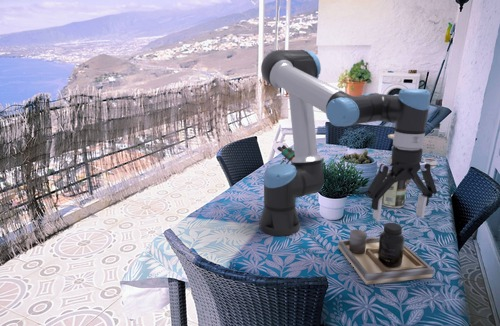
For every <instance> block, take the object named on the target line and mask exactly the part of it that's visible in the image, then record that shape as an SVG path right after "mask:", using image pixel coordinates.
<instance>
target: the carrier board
mask: <svg viewBox="0 0 500 326" xmlns="http://www.w3.org/2000/svg"><path fill="white" fill-rule="evenodd" d="M379 239H380V236H370V237H367V232H366V231H365V230H362V229H353V230H350V233H349V239H338V244H337V245H338V246H337V247H338V250H340V253H342V255H343V256H344V257H345V259H346V260H347V261H348V263H349V264H350V263H351V264H350V265H351V266H352V268H353V267H354V268H353V269H354V271H355V272H356V273H357V274H358V276H359V278H360V279H361V280H362V282H364V284H365V285H375V284H377V285H378V284H386V283H393V282H394V283H395V282H404V281H413V280H422V279H423V280H424V279H431V278H433V277H434V269H435V268H433V267H432V266H431V265H429V263H427V262H426V261H425V260H424V259H423V258H421V257H420V256H419V254H417V253H416V252H414V251H413V249H411V248H410V247H409V246H408V245H407V244H405V243H404V250H403V258H402V264H401V265H400V266H399V267H396V268H391V267H386V266H384V265H383V264H382V263H381V262H380V260H379V259H378V250H379Z"/></svg>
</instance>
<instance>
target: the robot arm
mask: <svg viewBox="0 0 500 326" xmlns="http://www.w3.org/2000/svg"><path fill="white" fill-rule="evenodd" d="M321 66H322V65H321V62H320V59H319V58H318V56H317V55H316V53H314V52H313V51H311V50H305V49H277V50H272V51H271V52H269V53H268V54H266V55H265V56H264V58H263V59H262V62H261V65H260V72H261V76H262V78H263V79H264V80H265V82H266V83H267V84H269V85H270V86H272V87H274V88H276V89H283V90H284V91H285V92H286V93H288V98H289V101H288V102H289V109H290V121H291V129H292V130H291V131H292V132H291V133H292V139H293V140H292V141H293V151H294V152H295V157H294V158H293V159H292V161H290V163H288V164H286V163H282V164H280V163H279V164H274V165H271V166H269V167H267V169H266V170H265V171H264V174H263V210H262V212H261V216H260V219H259V228H260V230H261V231H262V232H263V233H265V234H268V235H271V236H276V237H277V236H278V237H284V236H292V235H294V234H296V233H297V232H298V231H299V230H300V227H301V226H300V224H301V223H300V218H299V216H298V215H299V214H298V212H297V209H296V202H297V201H296V199H298V198H301V197H304V196H308V195H312V194H316V193H319V192H321V191H322V190H321V189H322V188H323V186H324V174H323V172H324V171H323V167H322V162H323V158H322V157H321V156H320V155H319V154H318V145H317V137H316V135H317V133H316V124H315V114H314V111H315V110H314V108H316V109H317V110H319V111H321V112H323V113H324V114H325V115H326V119H327V120H328V121H329V124H331V125H332V126H335V127H350V126H355V125H360V124H366V123H367V124H368V123H373V122H387V123H392V124H395V125H394V133H393V134H394V140H393V139H392V145H393V146H394V145H395V146H394V147H393V146H392V147H393V149H392V148H391V149H392V150H391V156H392V157H391V156H390V157H391V158H392V163H391V165H390V164H384V163H381V164H379V169H378V171H377V174H376V175H375V177H374V178H373V181H372V182H371V184H370V185H369V187H368V189H367V191H366V192H365V195H367V197H369V198H370V199H371V208H372V209H373V213H372V218H373V219H374V220H375V221H376V222H381V214H382V206H383V205H382V200H381V199H380V198H381V197H382V196H383V195H384V194H385V193H386V192H387V190H388V189H389V188H390V187H391V186H392V185H393V184H394V183H396V182H397V181H398V180H400V181H401V180H409V181H411V180H412V181H413V183H414V184H415V186H416V187H417V188H418V190H419V191H420V192H421V193H419V194H418V197H417V203H416V204H417V205H416V210H415V215H417V216H418V217H419V218H420V219H425V213H426V208H427V207H428V205H429V200H430V198H433V196H434V195H436V194H438V190H437V187H436V185H435V181H434V178H433V176H432V173H431V170H430V164H428V163H426V162H423V161H422V159H423V153H424V150H423V149H422V148H423V147H424V144H425V139H426V138H425V137H426V129H427V122H428V116H429V112H430V108H431V106H430V101H431V93H430V91H429V90H428V89H423V88H403V89H400V90H399V93H398V95H391V94H382V93H378V92H377V93H376V92H370V93H369V92H368V93H364V94H363V95H357V96H355V95H352V94H349V93H347V92H344V91H343V90H341V89H339V88H337V87H335V86H333V85H331V84H330V83H327V82H325V81H323V80H321V79H319V77H320V75H321V72H322V71H321V68H322V67H321ZM291 162H292V163H291ZM291 164H292V165H291ZM325 165H326V166H327V164H326V163H325ZM327 168H328V167H326V169H327ZM390 170H391V172H390V173H389V171H390ZM419 171H420V172H421V174H422V178H423V180H424V181H425V182H423V181H422V179H421V177H420V176H419V174H418V172H419ZM387 173H389V174H388V176H387ZM386 176H387V178H386ZM393 176H394V178H393ZM385 178H386V179H385ZM384 179H385V180H384ZM424 183H425V184H424ZM320 190H321V191H320Z"/></svg>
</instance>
